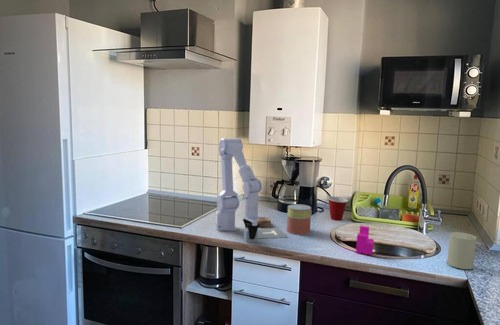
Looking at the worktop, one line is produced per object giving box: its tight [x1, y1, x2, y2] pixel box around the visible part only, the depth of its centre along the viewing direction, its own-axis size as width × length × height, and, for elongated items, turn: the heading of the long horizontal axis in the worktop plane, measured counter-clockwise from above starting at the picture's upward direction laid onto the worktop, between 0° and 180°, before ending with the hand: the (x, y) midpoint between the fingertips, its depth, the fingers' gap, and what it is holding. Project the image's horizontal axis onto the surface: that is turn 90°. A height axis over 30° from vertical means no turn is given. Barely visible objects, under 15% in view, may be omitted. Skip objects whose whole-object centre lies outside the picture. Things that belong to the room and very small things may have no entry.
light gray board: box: [257, 227, 289, 240], centre depth 178 cm, size 14×14×1 cm
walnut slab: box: [257, 216, 272, 228], centre depth 190 cm, size 7×7×4 cm
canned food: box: [286, 203, 312, 236], centre depth 181 cm, size 11×11×12 cm
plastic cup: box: [327, 196, 349, 222], centre depth 203 cm, size 11×11×12 cm
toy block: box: [355, 225, 375, 256], centre depth 162 cm, size 15×6×8 cm, turn 159°
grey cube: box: [243, 227, 258, 243], centre depth 167 cm, size 5×5×5 cm
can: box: [446, 231, 478, 270], centre depth 145 cm, size 9×9×12 cm
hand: (250, 236), depth 167 cm, fingers open, 5 cm apart
